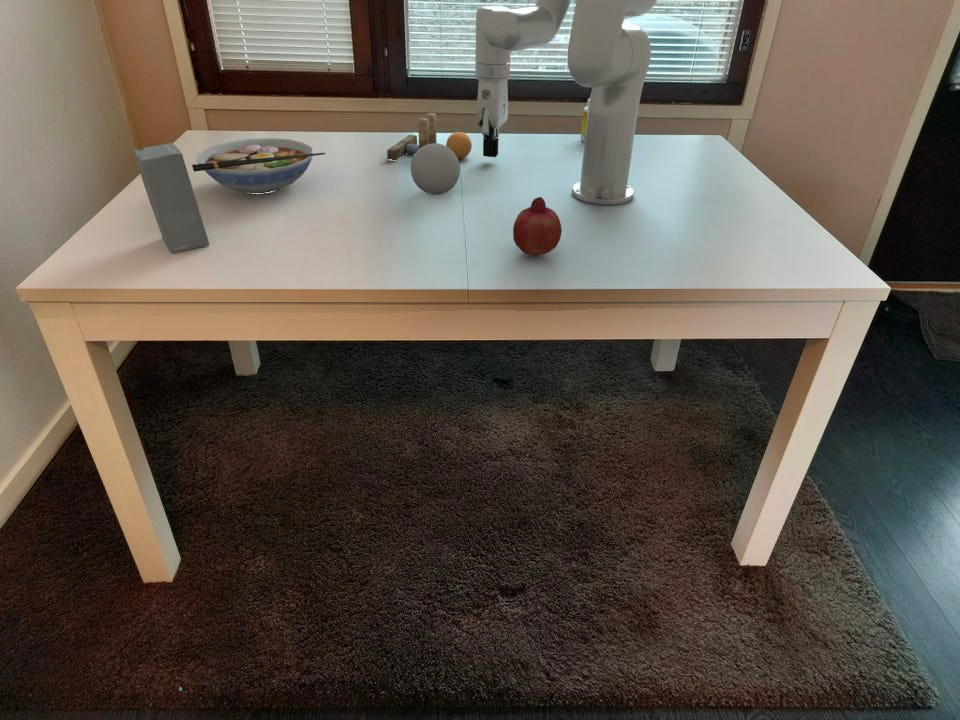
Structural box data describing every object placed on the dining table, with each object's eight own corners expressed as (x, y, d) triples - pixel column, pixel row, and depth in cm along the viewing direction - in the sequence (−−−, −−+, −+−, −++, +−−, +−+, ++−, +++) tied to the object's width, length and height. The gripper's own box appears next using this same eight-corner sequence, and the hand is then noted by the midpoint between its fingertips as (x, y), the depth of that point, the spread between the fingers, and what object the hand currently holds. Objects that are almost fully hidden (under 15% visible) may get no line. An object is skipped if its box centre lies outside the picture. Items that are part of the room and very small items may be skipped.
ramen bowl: (309, 166, 147) (304, 129, 142) (336, 198, 130) (331, 157, 125) (193, 180, 138) (183, 141, 133) (205, 216, 121) (195, 173, 116)
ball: (448, 182, 139) (447, 135, 133) (468, 197, 131) (468, 147, 126) (404, 189, 135) (402, 140, 129) (422, 204, 128) (420, 154, 122)
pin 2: (434, 154, 155) (433, 115, 150) (425, 153, 156) (424, 115, 151) (438, 151, 157) (437, 113, 152) (428, 151, 158) (427, 112, 153)
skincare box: (210, 246, 110) (188, 153, 101) (166, 255, 107) (139, 159, 98) (199, 229, 116) (177, 140, 107) (156, 238, 112) (130, 146, 104)
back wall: (395, 161, 150) (395, 151, 149) (387, 160, 151) (387, 150, 149) (417, 145, 161) (416, 135, 160) (409, 144, 162) (409, 134, 161)
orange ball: (440, 135, 149) (444, 161, 151) (465, 133, 147) (468, 160, 149) (450, 130, 154) (453, 156, 156) (473, 129, 152) (476, 155, 154)
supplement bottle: (593, 145, 164) (598, 103, 158) (576, 140, 167) (580, 99, 162) (606, 141, 168) (611, 99, 162) (588, 136, 171) (593, 96, 165)
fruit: (557, 267, 105) (563, 208, 100) (508, 262, 106) (511, 204, 101) (560, 246, 112) (565, 190, 106) (514, 243, 113) (517, 187, 107)
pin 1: (427, 160, 151) (426, 120, 146) (418, 159, 152) (416, 120, 147) (431, 157, 153) (429, 118, 148) (421, 156, 154) (420, 117, 149)
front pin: (441, 149, 151) (405, 145, 154) (441, 159, 153) (406, 155, 155) (444, 146, 153) (409, 142, 155) (445, 155, 155) (410, 152, 157)
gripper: (500, 78, 133) (497, 166, 144) (517, 66, 145) (513, 148, 155) (465, 76, 135) (465, 163, 145) (485, 64, 147) (483, 145, 157)
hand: (490, 155), depth 150 cm, fingers closed
